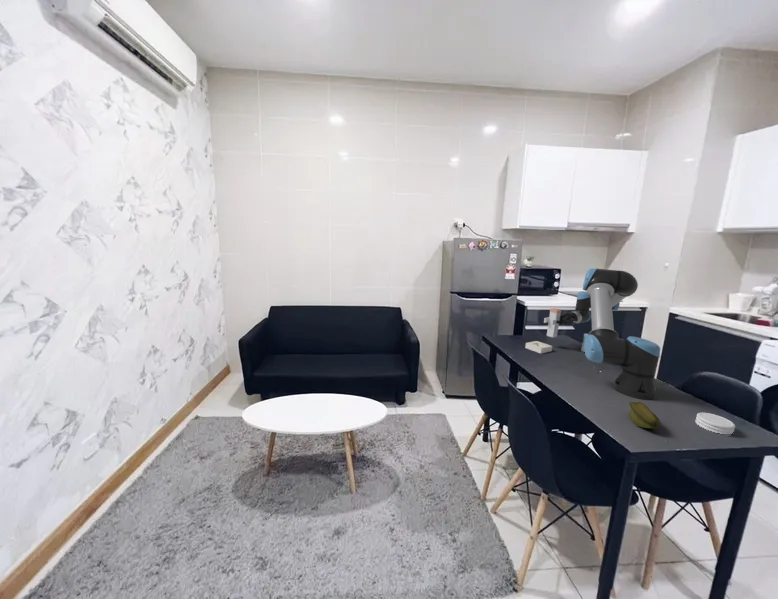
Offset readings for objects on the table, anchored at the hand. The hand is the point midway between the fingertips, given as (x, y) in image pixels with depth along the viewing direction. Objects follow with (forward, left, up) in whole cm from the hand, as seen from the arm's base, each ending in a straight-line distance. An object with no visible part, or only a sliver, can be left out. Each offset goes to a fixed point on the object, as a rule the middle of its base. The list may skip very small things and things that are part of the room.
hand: (548, 321), depth 194 cm
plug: (0, -5, -9) cm, 11 cm away
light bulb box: (-16, -21, -17) cm, 32 cm away
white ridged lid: (-80, +19, -18) cm, 84 cm away
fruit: (-67, +40, -17) cm, 80 cm away
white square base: (0, +6, -17) cm, 18 cm away
